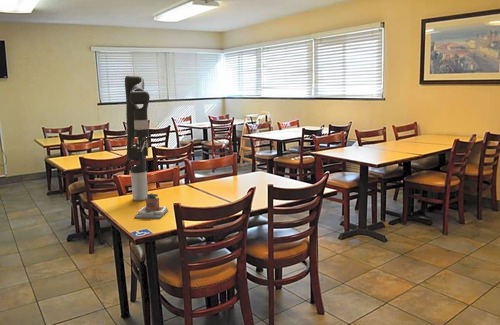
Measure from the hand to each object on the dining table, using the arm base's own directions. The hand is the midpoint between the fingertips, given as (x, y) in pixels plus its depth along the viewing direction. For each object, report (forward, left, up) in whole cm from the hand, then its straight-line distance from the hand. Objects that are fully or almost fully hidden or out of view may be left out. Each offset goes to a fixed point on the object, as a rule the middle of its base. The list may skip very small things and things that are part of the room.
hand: (143, 157), depth 235 cm
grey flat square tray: (+9, +6, -30) cm, 32 cm away
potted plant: (+6, +6, -29) cm, 30 cm away
